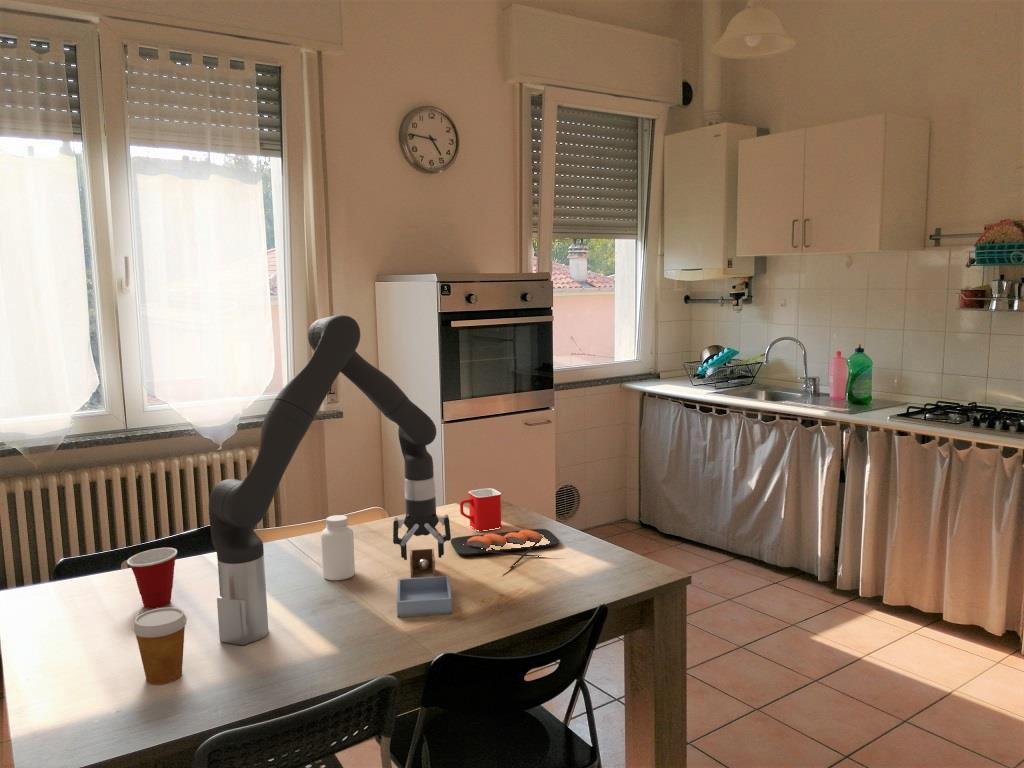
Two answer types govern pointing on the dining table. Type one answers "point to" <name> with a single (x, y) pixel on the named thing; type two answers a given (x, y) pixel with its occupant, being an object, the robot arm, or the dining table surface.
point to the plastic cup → (154, 575)
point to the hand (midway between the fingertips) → (422, 558)
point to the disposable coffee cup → (161, 643)
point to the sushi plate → (502, 542)
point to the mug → (483, 509)
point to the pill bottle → (337, 549)
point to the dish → (424, 596)
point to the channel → (416, 556)
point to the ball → (423, 564)
